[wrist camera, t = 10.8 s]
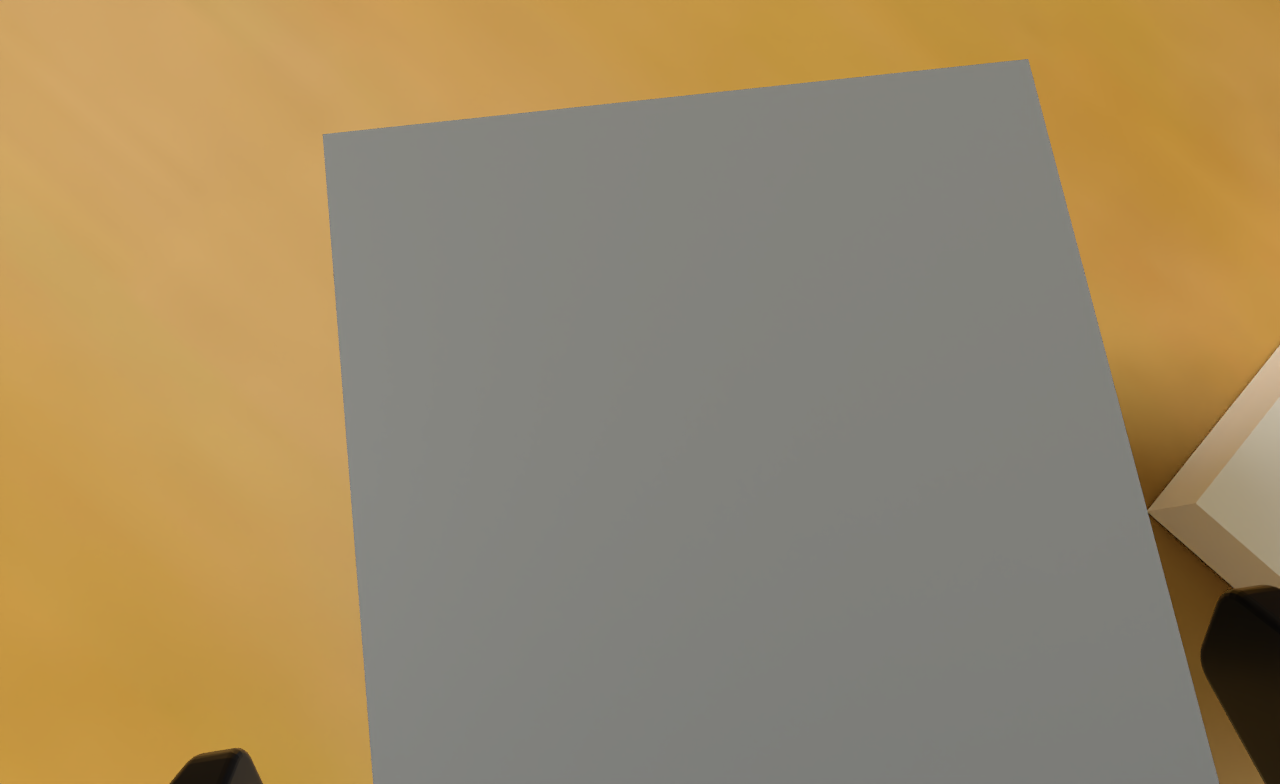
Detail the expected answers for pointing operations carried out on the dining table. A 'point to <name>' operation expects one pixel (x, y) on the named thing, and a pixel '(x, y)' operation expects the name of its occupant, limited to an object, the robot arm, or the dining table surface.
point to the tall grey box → (745, 449)
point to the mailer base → (1233, 488)
